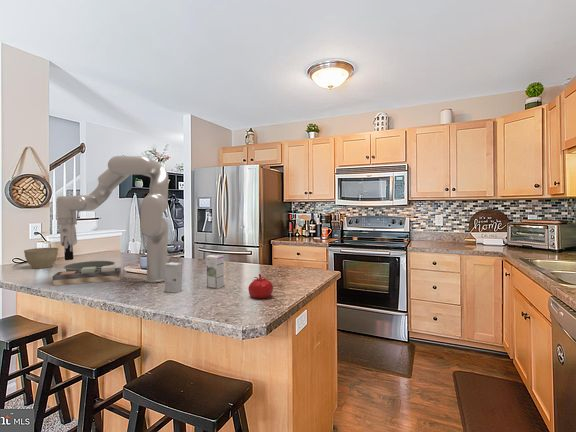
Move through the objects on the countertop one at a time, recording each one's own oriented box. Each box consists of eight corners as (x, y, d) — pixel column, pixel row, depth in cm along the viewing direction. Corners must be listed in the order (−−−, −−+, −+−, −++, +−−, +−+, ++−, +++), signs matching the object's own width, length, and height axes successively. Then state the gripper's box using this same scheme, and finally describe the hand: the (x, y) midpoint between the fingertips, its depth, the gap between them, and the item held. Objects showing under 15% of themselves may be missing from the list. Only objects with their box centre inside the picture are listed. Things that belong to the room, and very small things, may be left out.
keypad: (120, 276, 164) (120, 267, 164) (119, 280, 155) (118, 271, 155) (58, 281, 153) (58, 271, 153) (52, 285, 144) (52, 276, 144)
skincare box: (164, 291, 134) (163, 263, 133) (171, 289, 138) (170, 262, 138) (176, 293, 132) (175, 264, 132) (182, 290, 136) (182, 262, 136)
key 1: (76, 275, 154) (76, 271, 154) (73, 277, 149) (73, 273, 149) (62, 276, 152) (62, 271, 152) (59, 278, 147) (59, 274, 147)
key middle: (96, 270, 157) (96, 266, 157) (94, 272, 152) (94, 268, 152) (83, 271, 155) (83, 267, 155) (80, 273, 150) (80, 269, 150)
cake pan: (77, 279, 158) (77, 270, 158) (54, 273, 171) (54, 265, 170) (124, 270, 179) (124, 263, 179) (101, 266, 192) (101, 259, 191)
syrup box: (224, 286, 144) (224, 254, 143) (216, 289, 138) (216, 256, 138) (214, 284, 146) (214, 253, 146) (206, 287, 141) (206, 255, 140)
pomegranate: (263, 302, 120) (263, 278, 120) (243, 297, 125) (243, 275, 125) (277, 295, 129) (277, 273, 128) (258, 291, 134) (258, 270, 133)
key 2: (115, 269, 161) (115, 265, 161) (114, 271, 156) (114, 267, 156) (102, 269, 159) (102, 266, 159) (101, 272, 154) (101, 268, 153)
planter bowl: (17, 269, 181) (16, 250, 181) (43, 264, 197) (42, 247, 197) (40, 270, 178) (40, 251, 178) (65, 265, 194) (64, 247, 194)
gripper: (73, 222, 144) (75, 261, 145) (79, 220, 158) (81, 256, 159) (53, 222, 141) (55, 263, 142) (61, 221, 155) (63, 258, 156)
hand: (69, 259), depth 150 cm, fingers closed
